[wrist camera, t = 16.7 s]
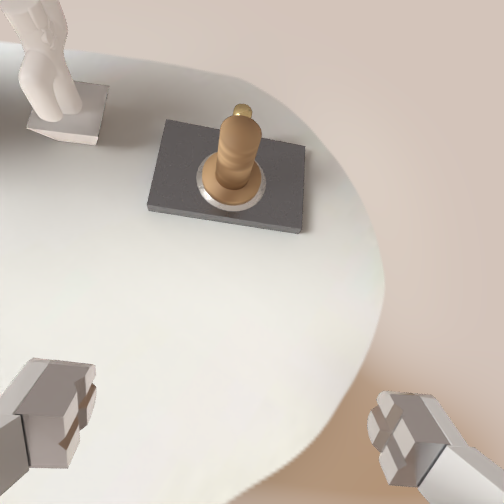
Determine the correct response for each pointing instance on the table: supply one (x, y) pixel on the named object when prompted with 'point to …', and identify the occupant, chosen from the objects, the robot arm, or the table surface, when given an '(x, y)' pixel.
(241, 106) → the dowel
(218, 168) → the flange hub
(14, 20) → the figurine
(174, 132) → the base plate
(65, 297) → the table surface
